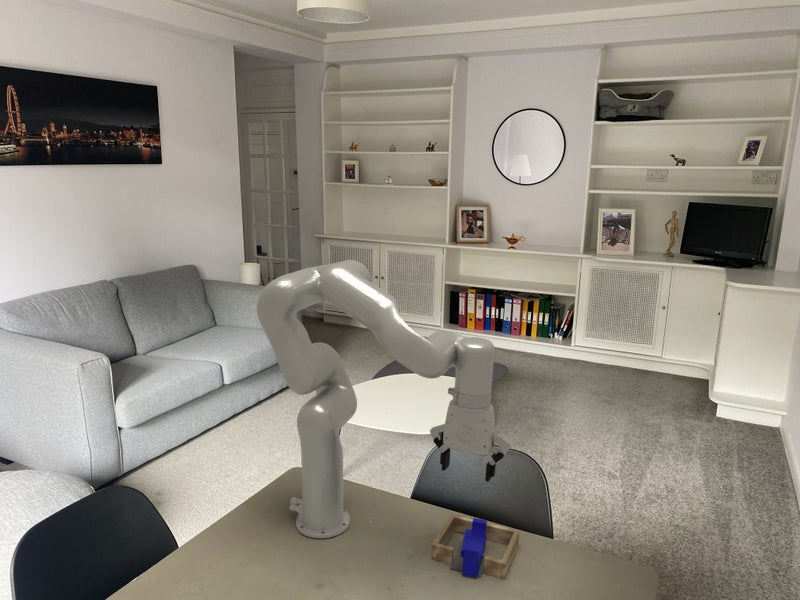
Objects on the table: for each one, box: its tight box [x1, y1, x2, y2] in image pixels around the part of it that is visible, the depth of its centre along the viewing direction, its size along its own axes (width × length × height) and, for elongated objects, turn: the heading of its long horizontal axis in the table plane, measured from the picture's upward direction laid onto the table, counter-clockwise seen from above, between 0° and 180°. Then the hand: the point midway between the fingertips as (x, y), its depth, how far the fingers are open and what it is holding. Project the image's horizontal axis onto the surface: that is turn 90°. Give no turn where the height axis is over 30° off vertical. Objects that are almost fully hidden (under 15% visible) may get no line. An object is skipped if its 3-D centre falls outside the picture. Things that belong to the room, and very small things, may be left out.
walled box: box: [431, 514, 520, 580], centre depth 135 cm, size 16×14×4 cm
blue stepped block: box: [461, 517, 488, 579], centre depth 133 cm, size 12×4×6 cm, turn 164°
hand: (466, 473), depth 131 cm, fingers open, 9 cm apart
